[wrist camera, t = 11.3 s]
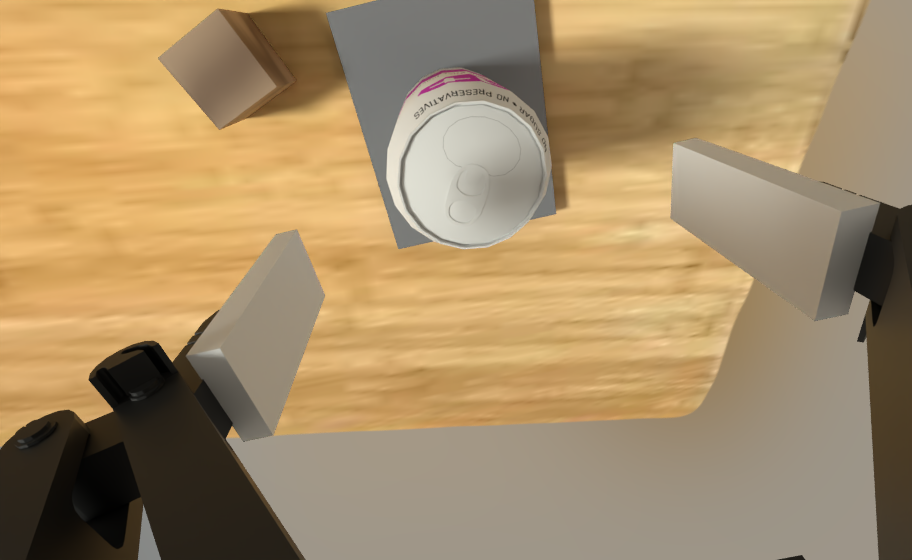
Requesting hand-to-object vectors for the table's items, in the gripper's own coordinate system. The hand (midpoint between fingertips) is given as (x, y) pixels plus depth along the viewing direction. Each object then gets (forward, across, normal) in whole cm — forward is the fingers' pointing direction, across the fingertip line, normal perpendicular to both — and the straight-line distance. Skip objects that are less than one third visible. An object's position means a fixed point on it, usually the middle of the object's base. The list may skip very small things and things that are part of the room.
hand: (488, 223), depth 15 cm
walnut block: (+22, -14, +7) cm, 27 cm away
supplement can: (+21, 0, 0) cm, 21 cm away
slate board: (+22, 0, 0) cm, 22 cm away
